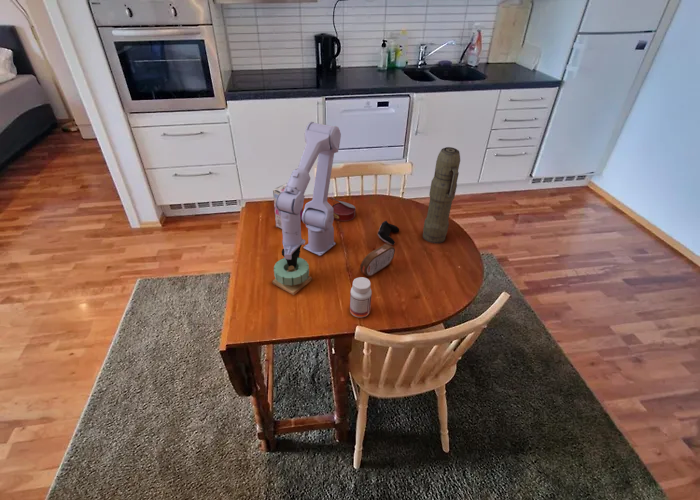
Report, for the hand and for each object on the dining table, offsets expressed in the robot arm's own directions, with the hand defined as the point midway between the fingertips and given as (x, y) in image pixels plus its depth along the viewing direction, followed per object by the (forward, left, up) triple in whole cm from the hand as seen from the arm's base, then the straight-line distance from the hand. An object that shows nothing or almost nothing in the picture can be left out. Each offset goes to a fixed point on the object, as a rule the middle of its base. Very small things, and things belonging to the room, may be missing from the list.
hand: (293, 263), depth 129 cm
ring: (+3, +2, -1) cm, 4 cm away
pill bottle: (+1, +27, -5) cm, 27 cm away
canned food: (-41, -9, -5) cm, 42 cm away
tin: (-19, +21, -5) cm, 28 cm away
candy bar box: (-23, -22, -5) cm, 32 cm away
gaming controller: (-38, +14, -5) cm, 40 cm away
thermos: (-49, +28, -5) cm, 56 cm away
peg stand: (+3, +2, -4) cm, 6 cm away
